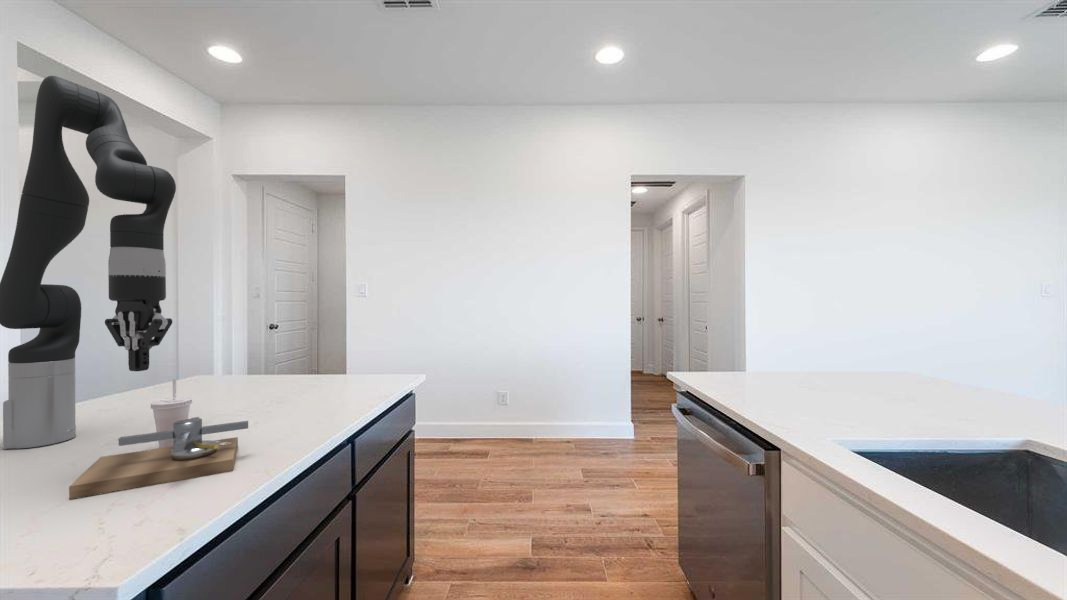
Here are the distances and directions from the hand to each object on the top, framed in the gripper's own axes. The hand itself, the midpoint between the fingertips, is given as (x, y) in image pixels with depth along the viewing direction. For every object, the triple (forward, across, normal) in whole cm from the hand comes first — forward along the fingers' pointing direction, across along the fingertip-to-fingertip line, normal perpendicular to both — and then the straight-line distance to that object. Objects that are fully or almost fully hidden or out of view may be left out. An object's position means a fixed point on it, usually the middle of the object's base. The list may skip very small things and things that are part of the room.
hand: (138, 370), depth 76 cm
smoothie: (+17, +4, -8) cm, 20 cm away
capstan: (+15, -8, -2) cm, 17 cm away
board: (+17, -6, 0) cm, 18 cm away
